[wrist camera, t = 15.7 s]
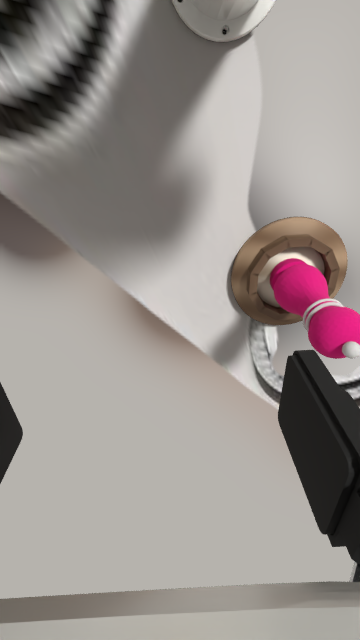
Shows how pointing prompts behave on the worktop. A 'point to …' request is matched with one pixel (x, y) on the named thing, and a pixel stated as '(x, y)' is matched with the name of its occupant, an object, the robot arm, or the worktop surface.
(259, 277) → the round tray
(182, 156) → the worktop surface
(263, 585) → the robot arm
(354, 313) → the pepper mill
